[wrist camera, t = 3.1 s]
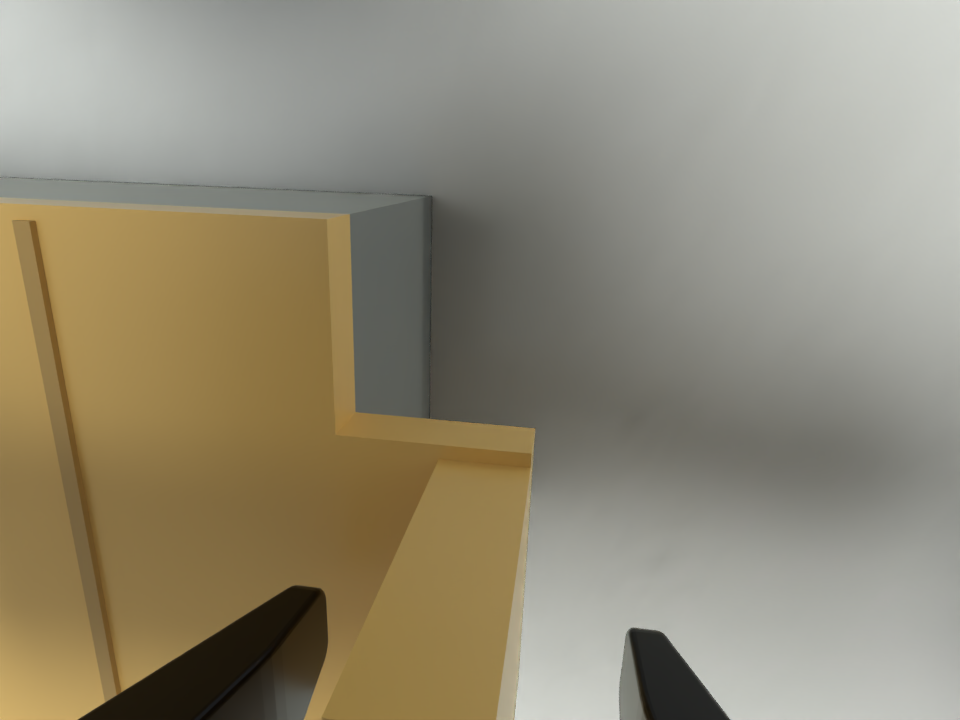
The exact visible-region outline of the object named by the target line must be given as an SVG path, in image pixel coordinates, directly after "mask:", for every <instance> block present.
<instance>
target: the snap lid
mask: <svg viewBox="0 0 960 720" xmlns="http://www.w3.org/2000/svg"><path fill="white" fill-rule="evenodd" d="M534 440H535V428H526V427H515V426H504V425H493V424H481V423H470V422H459V421H448V420H437V419H426V418H415V417H403V416H392V415H381V414H370V413H359V412H356V411H355V377H354V343H353V309H352V275H351V240H350V214H337V213H316V212H296V211H275V210H254V209H234V208H213V207H192V206H172V205H151V204H130V203H110V202H89V201H68V200H47V199H27V198H6V197H0V720H78V719H79V718H81V717H82V716H84V715H86V714H87V713H89V712H90V711H92V710H94V709H95V708H97V707H98V706H100V705H102V704H103V703H105V702H106V701H108V700H110V699H111V698H113V697H114V696H116V695H118V694H119V693H121V692H122V691H124V690H126V689H127V688H129V687H130V686H132V685H134V684H135V683H137V682H138V681H140V680H142V679H143V678H145V677H146V676H148V675H150V674H151V673H153V672H154V671H156V670H158V669H159V668H161V667H162V666H164V665H166V664H167V663H169V662H170V661H172V660H174V659H175V658H177V657H178V656H180V655H182V654H183V653H185V652H186V651H188V650H190V649H191V648H193V647H194V646H196V645H198V644H199V643H201V642H202V641H204V640H206V639H207V638H209V637H210V636H212V635H214V634H215V633H217V632H218V631H220V630H222V629H223V628H225V627H226V626H228V625H230V624H231V623H233V622H234V621H236V620H238V619H239V618H241V617H242V616H244V615H246V614H247V613H249V612H250V611H252V610H254V609H255V608H257V607H258V606H260V605H262V604H263V603H265V602H266V601H268V600H270V599H271V598H273V597H274V596H276V595H278V594H279V593H281V592H282V591H284V590H286V589H287V588H289V587H291V586H294V585H301V586H309V587H317V588H321V589H322V590H323V591H324V593H325V596H326V605H327V624H328V648H327V653H326V658H325V661H324V664H323V667H322V669H321V672H320V675H319V678H318V681H317V684H316V687H315V690H314V692H313V695H312V698H311V701H310V704H309V707H308V710H307V713H306V715H305V718H304V720H514V716H515V706H516V697H517V687H518V677H519V662H520V647H521V633H522V618H523V603H524V588H525V573H526V559H527V544H528V529H529V514H530V499H531V485H532V470H533V455H534Z"/></svg>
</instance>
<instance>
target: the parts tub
mask: <svg viewBox="0 0 960 720" xmlns="http://www.w3.org/2000/svg"><path fill="white" fill-rule="evenodd" d="M0 197H6V198H27V199H47V200H68V201H89V202H110V203H130V204H151V205H172V206H192V207H213V208H234V209H254V210H275V211H296V212H316V213H337V214H350V240H351V275H352V309H353V343H354V377H355V411H356V412H359V413H370V414H381V415H392V416H403V417H415V418H426V419H430V325H431V229H432V196H422V195H399V194H376V193H354V192H331V191H308V190H285V189H262V188H239V187H216V186H194V185H171V184H148V183H125V182H102V181H79V180H57V179H34V178H11V177H0Z"/></svg>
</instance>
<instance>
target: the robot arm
mask: <svg viewBox="0 0 960 720" xmlns="http://www.w3.org/2000/svg"><path fill="white" fill-rule="evenodd" d="M327 648H328V624H327V605H326V596H325V593H324V591H323V590H322V589H321V588H317V587H309V586H301V585H294V586H291V587H289V588H287V589H286V590H284V591H282V592H281V593H279V594H278V595H276V596H274V597H273V598H271V599H270V600H268V601H266V602H265V603H263V604H262V605H260V606H258V607H257V608H255V609H254V610H252V611H250V612H249V613H247V614H246V615H244V616H242V617H241V618H239V619H238V620H236V621H234V622H233V623H231V624H230V625H228V626H226V627H225V628H223V629H222V630H220V631H218V632H217V633H215V634H214V635H212V636H210V637H209V638H207V639H206V640H204V641H202V642H201V643H199V644H198V645H196V646H194V647H193V648H191V649H190V650H188V651H186V652H185V653H183V654H182V655H180V656H178V657H177V658H175V659H174V660H172V661H170V662H169V663H167V664H166V665H164V666H162V667H161V668H159V669H158V670H156V671H154V672H153V673H151V674H150V675H148V676H146V677H145V678H143V679H142V680H140V681H138V682H137V683H135V684H134V685H132V686H130V687H129V688H127V689H126V690H124V691H122V692H121V693H119V694H118V695H116V696H114V697H113V698H111V699H110V700H108V701H106V702H105V703H103V704H102V705H100V706H98V707H97V708H95V709H94V710H92V711H90V712H89V713H87V714H86V715H84V716H82V717H81V718H79V719H78V720H304V718H305V715H306V713H307V710H308V707H309V704H310V701H311V698H312V695H313V692H314V690H315V687H316V684H317V681H318V678H319V675H320V672H321V669H322V667H323V664H324V661H325V658H326V653H327ZM619 709H620V720H730V719H729V717H728V716H727V715H726V713H725V712H724V711H723V710H722V708H721V707H720V706H719V704H718V703H717V702H716V700H715V699H714V698H713V697H712V695H711V694H710V693H709V691H708V690H707V689H706V688H705V686H704V685H703V684H702V682H701V681H700V680H699V678H698V677H697V676H696V675H695V673H694V672H693V671H692V669H691V668H690V667H689V665H688V664H687V663H686V662H685V660H684V659H683V658H682V656H681V655H680V654H679V653H678V651H677V650H676V649H675V647H674V646H673V645H672V643H671V642H670V641H669V640H668V638H667V637H666V636H665V635H664V634H663V633H662V632H660V631H657V630H649V629H641V628H630V629H629V630H628V631H627V634H626V639H625V646H624V654H623V662H622V669H621V677H620V687H619Z"/></svg>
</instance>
